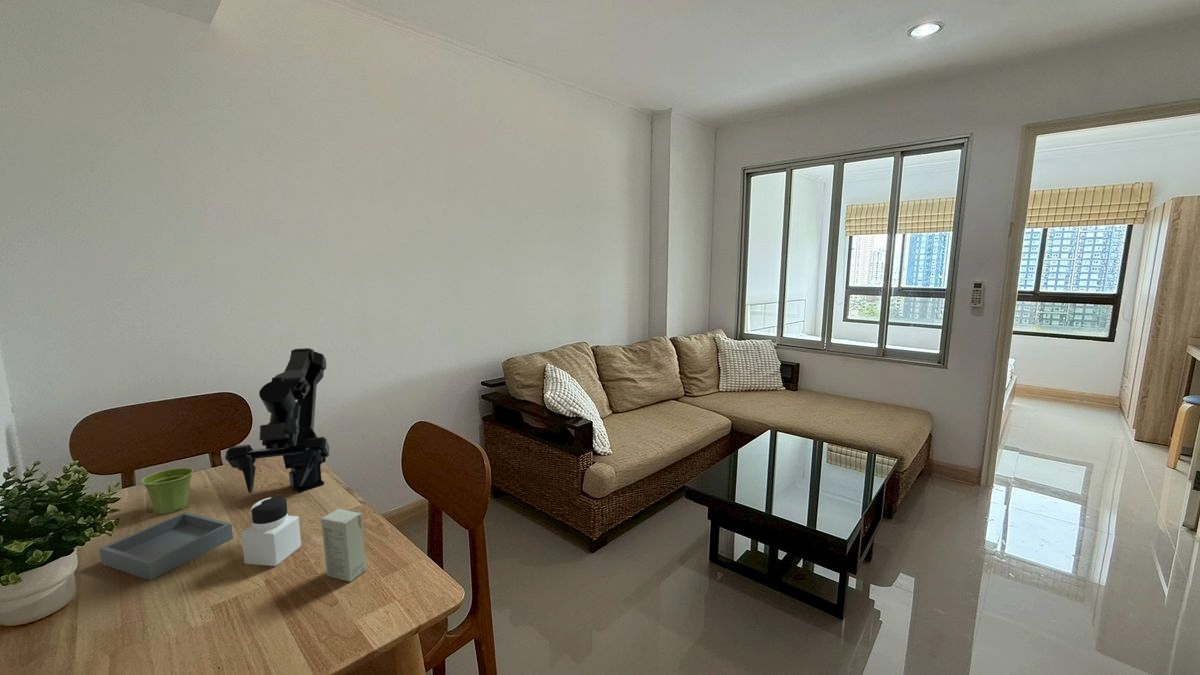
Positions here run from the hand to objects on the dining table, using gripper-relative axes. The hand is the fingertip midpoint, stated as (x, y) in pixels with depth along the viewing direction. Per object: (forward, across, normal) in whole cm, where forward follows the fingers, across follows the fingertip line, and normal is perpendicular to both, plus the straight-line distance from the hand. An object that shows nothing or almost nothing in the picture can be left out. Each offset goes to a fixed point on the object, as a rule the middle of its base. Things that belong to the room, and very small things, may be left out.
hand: (275, 488), depth 100 cm
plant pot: (-10, -28, +27) cm, 41 cm away
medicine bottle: (+13, 0, +5) cm, 14 cm away
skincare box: (+21, +15, -3) cm, 26 cm away
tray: (+6, -21, +12) cm, 24 cm away
